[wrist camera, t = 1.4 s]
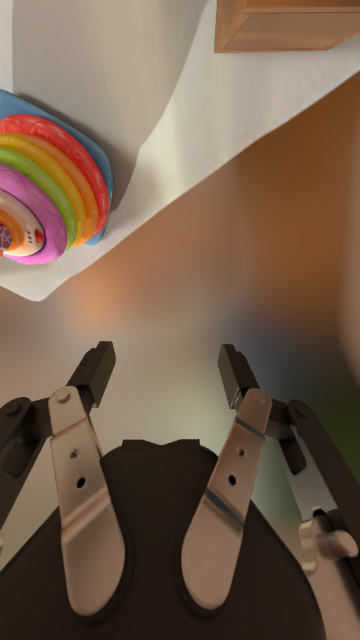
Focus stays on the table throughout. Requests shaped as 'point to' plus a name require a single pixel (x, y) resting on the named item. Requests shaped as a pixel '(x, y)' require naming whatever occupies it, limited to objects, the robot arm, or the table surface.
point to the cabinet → (284, 24)
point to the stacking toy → (48, 184)
